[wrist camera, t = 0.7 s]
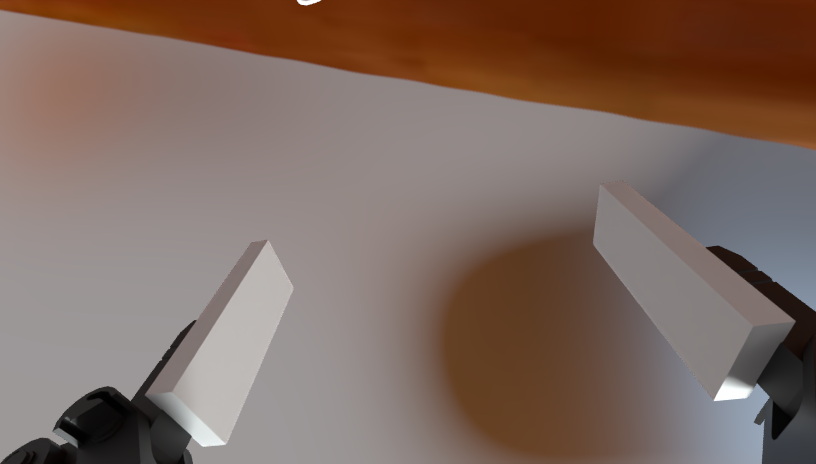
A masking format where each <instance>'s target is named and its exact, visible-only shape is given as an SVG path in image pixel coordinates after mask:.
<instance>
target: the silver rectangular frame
mask: <svg viewBox="0 0 816 464" xmlns="http://www.w3.org/2000/svg"><path fill="white" fill-rule="evenodd" d="M297 1H298V3H299V4H301V5H309V4H312V3H315V2H318V1H320V0H297Z"/></svg>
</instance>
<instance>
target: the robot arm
mask: <svg viewBox="0 0 816 464" xmlns="http://www.w3.org/2000/svg"><path fill="white" fill-rule="evenodd" d="M593 244H594V246H595V247H596V249H597V250H598V251H599V252H600V254H601V255H602V256H603V258H604V259H605V260H606V261H607V263H608V264H609V265H610V267H611V268H612V269H613V270H614V272H615V273H616V274H617V276H618V277H619V278H620V280H621V281H622V282H623V284H624V285H625V286H626V288H627V289H628V290H629V292H630V293H631V294H632V295H633V297H634V298H635V299H636V301H637V302H638V303H639V305H640V306H641V307H642V308H643V310H644V311H645V312H646V314H647V315H648V316H649V317H650V319H651V320H652V321H653V323H654V324H655V325H656V327H657V328H658V329H659V331H660V332H661V333H662V334H663V336H664V337H665V338H666V340H667V341H668V342H669V344H670V345H671V346H672V347H673V349H674V350H675V351H676V353H677V354H678V355H679V357H680V358H681V359H682V361H683V362H684V363H685V364H686V366H687V367H688V368H689V369H690V371H691V372H692V374H693V375H694V376H695V377H696V379H697V380H698V381H699V383H700V384H701V385H702V387H703V388H704V389H705V390H706V391H707V393H708V394H709V396H710V397H711V398H712V400H713V401H718V400H729V399H740V398H748V397H749V395H750V394H751V392H752V390H753V389H754V387H755V386H756V384H757V383H758V384H759V385H760V387H761V388H762V389H763V390H764V391H765V392H766V393H767V394H768V395H769V396H770V398H769V399H768V401H767V402H766V403H765V405H764V406H763V408H762V409H761V411H760V413H759V414H758V415H757V417H756V419H755V421H754V423H756V424H758V425H761V423H762V422H763V421H764V419H765V422H764V438H763V455H762V464H816V312H815V311H814V310H813V309H811V308H810V307H809V306H807V305H806V304H805V303H803V302H802V301H801V300H799V299H798V298H797V297H795V296H794V295H793V294H791V293H790V292H789V291H787V290H786V289H785V288H783V287H782V286H781V285H779V284H778V283H777V282H773V281H772V279H771V278H770V277H769V276H767V275H766V274H765V273H763V272H762V271H758V268H757V267H755V266H754V265H753V264H751V263H750V262H749V261H747V260H746V259H745V258H743V257H742V256H740V255H738V254H736V253H734V252H732V251H729V250H727V249H725V248H723V247H720V246H712V247H704V246H703V245H701V244H700V243H699V242H698V241H696V240H695V239H694V238H693V237H692V236H690V235H689V234H688V233H687V232H685V231H684V230H683V229H682V228H680V227H679V226H678V225H677V224H675V223H674V222H673V221H672V220H671V219H669V218H668V217H667V216H666V215H664V214H663V213H662V212H661V211H660V210H658V209H657V208H656V207H655V206H653V205H652V204H651V203H649V201H647V200H646V199H644V198H643V197H642V196H641V195H640V194H639V193H637V192H636V191H635V190H634V189H633V188H631V187H630V186H629V185H628V184H626V183H625V182H624V181H615V182H609V183H603V184H600V191H599V200H598V207H597V216H596V224H595V232H594V240H593ZM292 291H293V286H292V284H291V282H290V281H289V279H288V277H287V275H286V273H285V271H284V269H283V267H282V265H281V263H280V261H279V260H278V258H277V256H276V254H275V252H274V250H273V248H272V246H271V244H270V242H269V240H264V241H259V242H252V243H251V244H250V245H249V247H248V248H247V250H246V251H245V252H244V254H243V255H242V257H241V258H240V259H239V261H238V262H237V264H236V265H235V267H234V268H233V270H232V271H231V272H230V274H229V275H228V277H227V278H226V279H225V281H224V282H223V284H222V285H221V287H220V288H219V289H218V291H217V292H216V294H215V295H214V297H213V298H212V300H211V301H210V303H209V304H208V305H207V307H206V308H205V310H204V311H203V313H202V314H201V315H200V317H199V318H198V320H194V321H193V322H192V323H190V324H189V325H188V326H187V327H186V328H185V329H184V330H183V331H182V332H181V333H180V334H179V335H178V336H177V338H176V339H175V341H174V342H173V344H172V345H171V346H170V349H168V350H167V352H166V353H165V354H164V356H163V357H162V361H159V363H158V364H157V365H156V367H155V368H154V370H153V371H152V372H151V374H150V375H149V377H148V378H147V379H146V381H145V382H144V383H143V385H142V386H141V388H140V389H139V390H138V392H137V393H136V394H135V396H134V397H133V399H132V400H131V401H129V400H128V399H127V398H126V397H125V396H123V395H122V394H121V393H120V392H119V391H117V390H116V389H115V388H113V387H109V386H107V387H102V388H99V389H96V390H94V391H92V392H90V393H88V394H86V395H85V396H83V397H82V398H80V399H79V400H78V401H76V402H75V403H74V404H73V405H72V406H71V407H69V408H68V409H67V410H66V411H65V412H64V413H63V415H62V416H61V417H60V418H59V420H58V421H57V422H56V425H55V427H54V429H53V432H54V433H56V434H57V435H58V436H60V437H62V438H63V439H65V440H66V441H68V443H66V444H63V445H60V446H59V445H58V444H56V443H55V442H53V441H51V440H50V439H48V438H39V439H36V440H33V441H31V442H29V443H27V444H25V445H24V446H22V447H20V448H19V449H17V450H15V451H14V452H12V454H10V455H9V456H7V457H6V458H5V459H4V460H3V461H2V462H1V463H0V464H193V462H192V457H191V454H190V452H189V451H188V450H187V449H186V447H187V445H188V443H189V441H190V439H191V437H192V438H194V439H195V440H196V441H197V442H198V443H199V444H200V445H201V446H203V447H205V446H216V445H226V444H227V442H228V439H229V437H230V435H231V432H232V430H233V428H234V425H235V423H236V420H237V418H238V416H239V414H240V412H241V409H242V406H243V404H244V402H245V400H246V398H247V395H248V393H249V391H250V388H251V386H252V384H253V381H254V379H255V377H256V374H257V372H258V370H259V367H260V365H261V363H262V361H263V358H264V356H265V354H266V351H267V348H268V347H269V344H270V342H271V339H272V337H273V335H274V333H275V330H276V328H277V326H278V323H279V321H280V319H281V316H282V314H283V312H284V309H285V307H286V305H287V303H288V300H289V298H290V296H291V293H292Z"/></svg>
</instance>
